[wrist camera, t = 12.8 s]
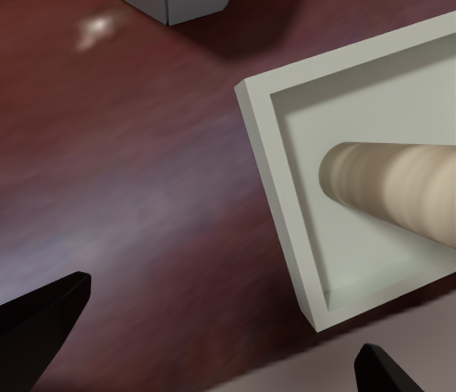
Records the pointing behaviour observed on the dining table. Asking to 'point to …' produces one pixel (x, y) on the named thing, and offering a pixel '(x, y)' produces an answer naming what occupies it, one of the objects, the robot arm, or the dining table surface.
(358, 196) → the maple dowel
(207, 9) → the slate cup
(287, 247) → the sage tray
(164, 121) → the dining table surface
